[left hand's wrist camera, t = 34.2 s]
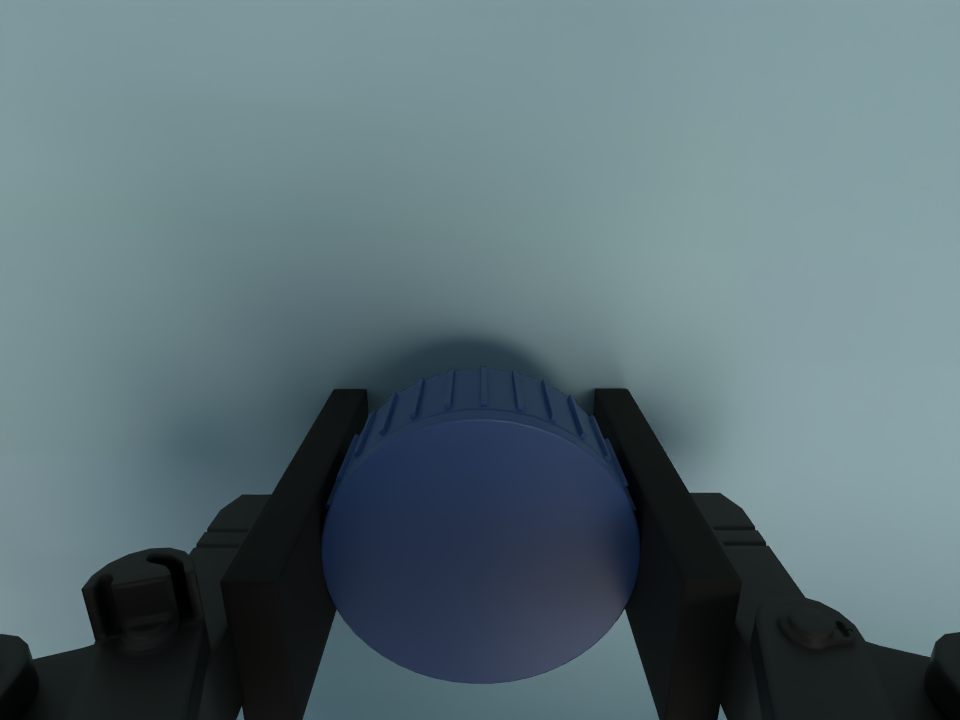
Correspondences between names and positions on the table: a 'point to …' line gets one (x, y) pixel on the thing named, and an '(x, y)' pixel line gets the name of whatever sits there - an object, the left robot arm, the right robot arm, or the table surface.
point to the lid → (480, 529)
